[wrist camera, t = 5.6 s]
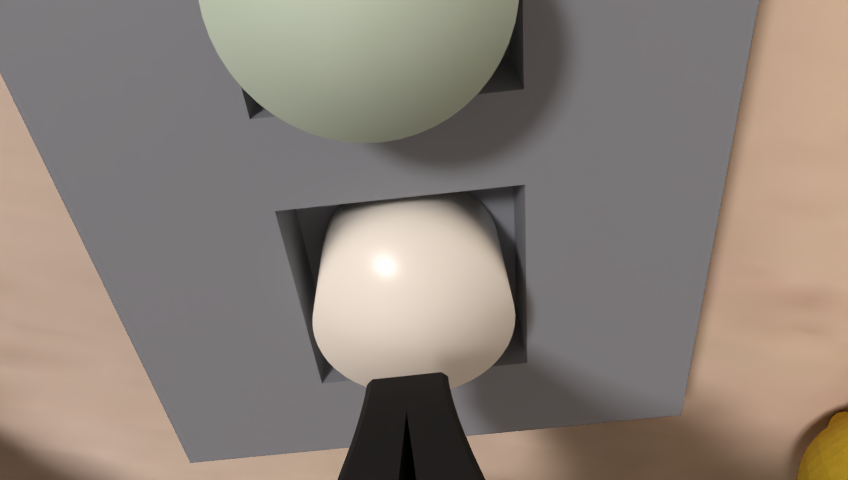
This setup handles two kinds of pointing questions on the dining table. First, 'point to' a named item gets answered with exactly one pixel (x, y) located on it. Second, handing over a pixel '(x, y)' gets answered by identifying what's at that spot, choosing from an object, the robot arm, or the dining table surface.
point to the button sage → (361, 60)
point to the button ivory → (413, 289)
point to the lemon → (827, 452)
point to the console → (388, 179)
